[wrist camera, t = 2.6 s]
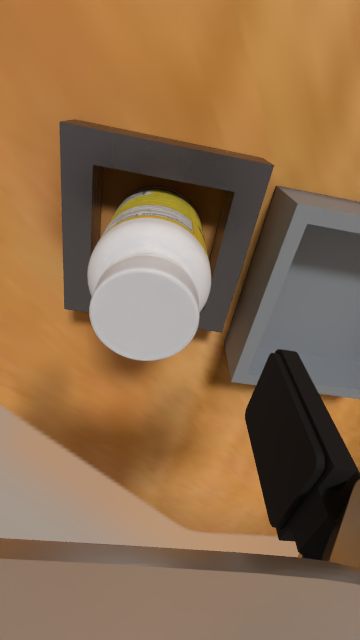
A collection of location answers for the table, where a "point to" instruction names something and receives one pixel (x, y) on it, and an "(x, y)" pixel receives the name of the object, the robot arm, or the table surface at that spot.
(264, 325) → the tray
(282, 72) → the table surface
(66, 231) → the socket collar
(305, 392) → the robot arm
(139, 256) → the supplement bottle
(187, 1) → the table surface
